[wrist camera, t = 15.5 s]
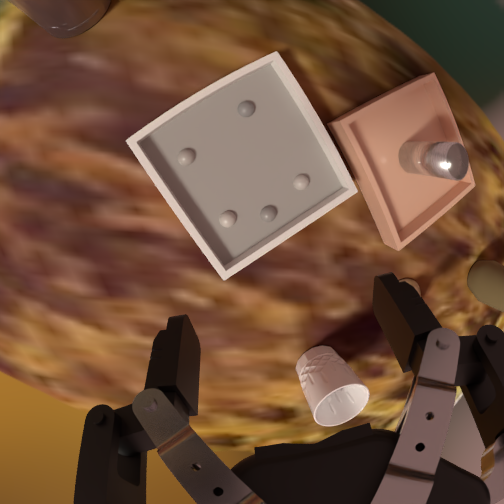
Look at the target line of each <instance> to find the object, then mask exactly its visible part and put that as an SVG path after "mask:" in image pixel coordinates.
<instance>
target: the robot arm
mask: <svg viewBox="0 0 504 504" xmlns="http://www.w3.org/2000/svg"><path fill="white" fill-rule="evenodd" d="M8 1H9V2H11V3H12V4H13V5H15V6H16V7H17V8H18V9H20V10H21V11H22V12H24V13H25V14H26V15H27V16H29V17H30V18H31V19H32V20H34V21H35V22H36V23H37V24H39V25H40V26H41V27H42V28H44V29H45V30H46V31H47V32H49V33H50V34H51V35H53V36H55V37H58V38H69V37H72V36H76V35H78V34H81V33H83V32H84V31H86V30H88V29H89V28H91V27H92V26H93V25H94V24H96V23H97V22H98V21H99V20H100V19H101V18H102V16H103V15H104V14H105V12H106V11H107V9H108V7H109V5H110V1H111V0H8ZM372 304H373V311H374V314H375V317H376V319H377V321H378V322H379V324H380V326H381V328H382V330H383V332H384V334H385V336H386V338H387V340H388V342H389V344H390V346H391V348H392V350H393V352H394V354H395V356H396V358H397V360H398V362H399V364H400V367H401V369H402V371H403V373H405V372H408V371H411V370H412V371H413V373H414V377H413V381H412V384H411V387H410V391H409V394H408V397H407V400H406V403H405V406H404V409H403V412H402V415H401V417H400V420H399V422H398V425H397V427H396V429H395V432H393V431H390V430H384V429H371V426H370V423H367V424H363V425H360V426H357V427H353V428H349V429H346V430H342V431H340V432H338V433H336V434H334V435H332V436H330V437H328V438H326V439H324V440H322V441H320V442H318V443H315V444H289V443H281V444H275V445H269V446H262V447H254V448H255V454H254V455H251V456H249V457H247V458H245V459H243V460H242V461H240V462H239V463H238V464H236V465H235V466H234V467H233V468H232V469H231V470H230V469H229V468H228V467H227V466H226V465H225V464H224V463H223V462H222V461H221V460H220V459H219V458H218V457H217V456H216V454H215V453H214V452H213V451H212V450H211V449H210V448H209V447H208V446H207V445H206V444H205V443H204V441H203V440H202V439H201V438H200V437H199V436H198V435H197V434H196V432H195V431H194V430H193V429H192V428H191V427H190V425H189V416H196V415H198V393H199V372H200V353H201V350H200V343H199V339H198V337H197V335H196V333H195V330H194V328H193V326H192V324H191V322H190V319H189V317H188V316H187V315H186V314H185V315H179V316H173V317H169V319H168V323H167V329H166V330H161V331H159V333H158V334H157V336H156V338H155V339H154V342H153V346H152V352H151V356H150V359H151V360H150V361H149V367H148V372H147V377H146V383H145V388H144V390H143V391H142V392H140V393H139V394H138V395H137V396H136V397H135V399H134V401H133V403H132V404H130V405H128V406H125V407H122V408H119V409H116V410H113V409H112V408H111V407H109V406H108V405H103V404H102V405H97V406H95V407H93V408H92V409H91V410H90V411H89V412H88V414H87V416H86V419H85V424H84V430H83V436H82V442H81V447H80V454H79V461H78V468H77V475H76V484H75V493H74V504H146V467H147V451H148V450H152V449H155V448H157V449H158V451H157V452H158V454H159V456H160V457H161V459H162V460H163V461H164V463H165V464H166V466H167V467H168V468H169V469H170V471H171V472H172V473H173V475H174V476H175V477H176V479H177V480H178V481H179V482H180V484H181V485H182V486H183V487H184V488H185V490H186V491H187V492H188V493H189V494H190V496H191V497H192V498H193V499H194V500H195V502H196V503H197V504H495V503H497V502H498V501H500V500H501V499H503V498H504V333H503V331H502V330H501V329H500V328H498V327H496V326H494V325H485V326H482V327H481V328H480V329H479V331H478V333H477V335H472V336H458V335H457V334H456V333H455V332H454V331H452V330H450V329H447V328H442V326H441V325H440V323H439V322H438V320H437V319H436V318H435V316H434V315H433V313H432V312H431V310H430V309H429V307H428V306H427V304H425V302H424V300H423V299H422V297H420V295H419V293H418V292H417V290H416V289H415V288H414V287H413V286H412V285H410V284H409V283H407V282H406V281H402V282H399V280H398V279H397V278H396V276H395V275H394V274H393V273H392V272H390V273H386V274H382V275H378V276H375V278H374V290H373V303H372ZM454 386H460V388H461V390H462V392H463V394H464V397H465V399H466V401H467V403H468V405H469V408H470V410H471V413H472V415H473V418H474V420H475V423H476V425H477V428H478V430H479V433H480V435H481V438H482V440H483V443H484V446H485V451H484V452H483V454H482V458H481V470H482V475H481V477H480V478H479V477H478V476H476V475H474V474H472V473H470V472H468V471H466V470H464V469H462V468H460V467H458V466H456V465H454V464H453V463H451V462H449V461H447V460H445V459H443V458H441V457H440V456H441V453H442V449H443V446H444V442H445V439H446V435H447V432H448V428H449V424H450V420H451V416H452V411H453V407H454V402H455V397H456V387H454Z"/></svg>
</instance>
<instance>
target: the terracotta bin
mask: <svg viewBox="0 0 504 504" xmlns="http://www.w3.org/2000/svg"><path fill="white" fill-rule="evenodd" d="M327 126H328V127H329V129H330V131H331V133H332V135H333V136H334V138H335V140H336V142H337V144H338V146H339V148H340V149H341V151H342V153H343V155H344V157H345V159H346V161H347V163H348V165H349V167H350V169H351V171H352V173H353V175H354V177H355V179H356V181H357V183H358V185H359V188H360V190H361V192H362V194H363V196H364V198H365V200H366V203H367V205H368V207H369V209H370V211H371V214H372V216H373V218H374V221H375V223H376V225H377V228H378V230H379V232H380V235H381V237H382V240H383V242H384V244H386V245H388V246H390V247H392V248H394V249H396V250H397V251H399V250H400V249H402V248H403V247H404V246H406V245H407V244H408V243H409V242H411V241H412V240H413V239H414V238H415V237H417V236H418V235H419V234H420V233H422V232H423V231H424V230H425V229H426V228H428V227H429V226H430V225H431V224H432V223H434V222H435V221H436V220H437V219H438V218H440V217H441V216H442V215H443V214H444V213H445V212H447V211H448V210H449V209H450V208H451V207H452V206H453V205H455V204H456V203H457V202H458V201H459V200H460V199H461V198H462V197H464V196H465V195H466V194H467V193H468V192H469V191H470V190H471V189H472V188H473V187H475V182H474V178H473V175H472V171H471V167H470V164H469V166H468V171H467V174H466V176H465V177H464V178H463V179H462V180H459V181H456V180H450V179H445V178H438V177H432V176H425V175H419V174H411V173H407V172H405V171H404V170H403V169H402V167H401V166H400V163H399V159H398V154H399V149H400V147H401V146H402V144H403V143H405V142H407V141H440V142H459V143H461V144H462V145H463V142H462V139H461V136H460V133H459V130H458V127H457V125H456V122H455V119H454V117H453V114H452V112H451V109H450V107H449V104H448V102H447V99H446V97H445V95H444V93H443V90H442V88H441V86H440V84H439V81H438V79H437V77H436V75H435V73H430V74H426V75H422V76H418V77H416V78H414V79H412V80H410V81H408V82H406V83H404V84H402V85H399V86H397V87H395V88H393V89H391V90H389V91H387V92H385V93H383V94H381V95H379V96H377V97H376V98H374V99H372V100H370V101H368V102H366V103H364V104H362V105H360V106H358V107H356V108H354V109H353V110H351V111H349V112H347V113H345V114H343V115H342V116H340V117H338V118H336V119H334V120H332V121H331V122H329V123H327ZM463 146H464V145H463Z"/></svg>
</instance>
